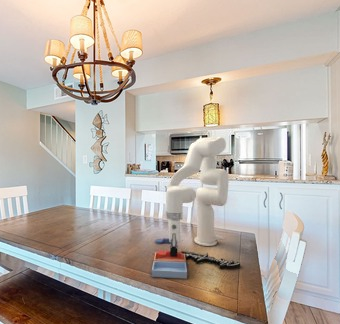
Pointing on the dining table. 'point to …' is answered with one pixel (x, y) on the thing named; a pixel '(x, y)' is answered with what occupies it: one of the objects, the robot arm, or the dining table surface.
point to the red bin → (169, 258)
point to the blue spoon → (162, 240)
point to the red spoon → (168, 254)
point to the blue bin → (169, 269)
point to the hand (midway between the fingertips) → (173, 255)
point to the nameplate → (210, 260)
